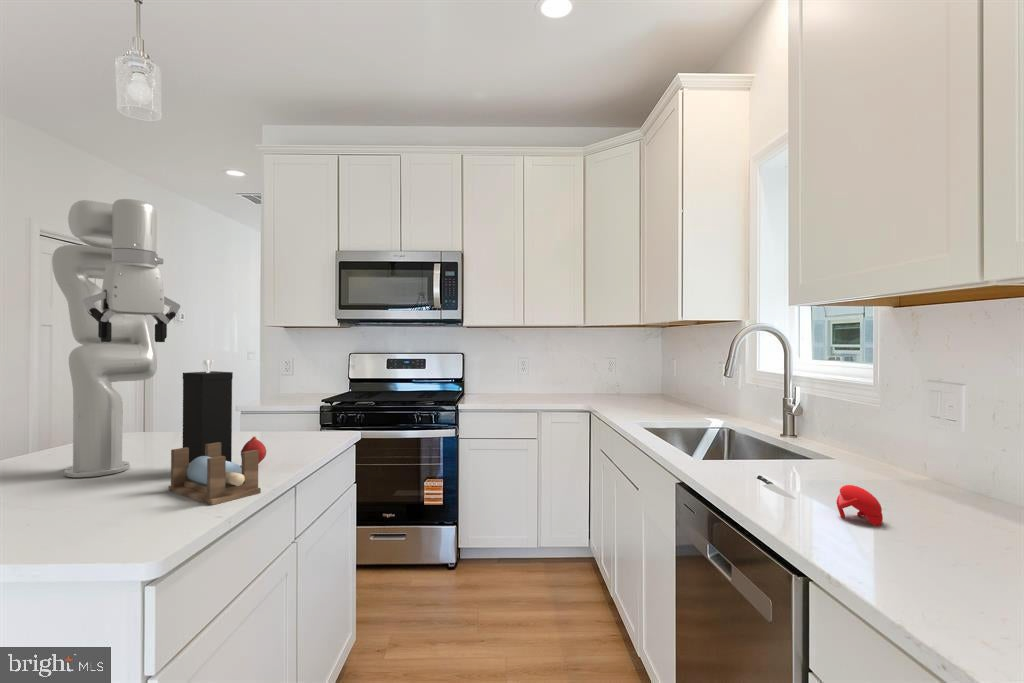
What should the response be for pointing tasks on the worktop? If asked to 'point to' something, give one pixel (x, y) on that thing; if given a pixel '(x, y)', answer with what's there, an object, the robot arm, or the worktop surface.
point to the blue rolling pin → (199, 472)
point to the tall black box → (207, 411)
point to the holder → (213, 476)
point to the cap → (860, 503)
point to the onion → (255, 448)
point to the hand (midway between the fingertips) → (133, 342)
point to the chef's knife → (775, 488)
